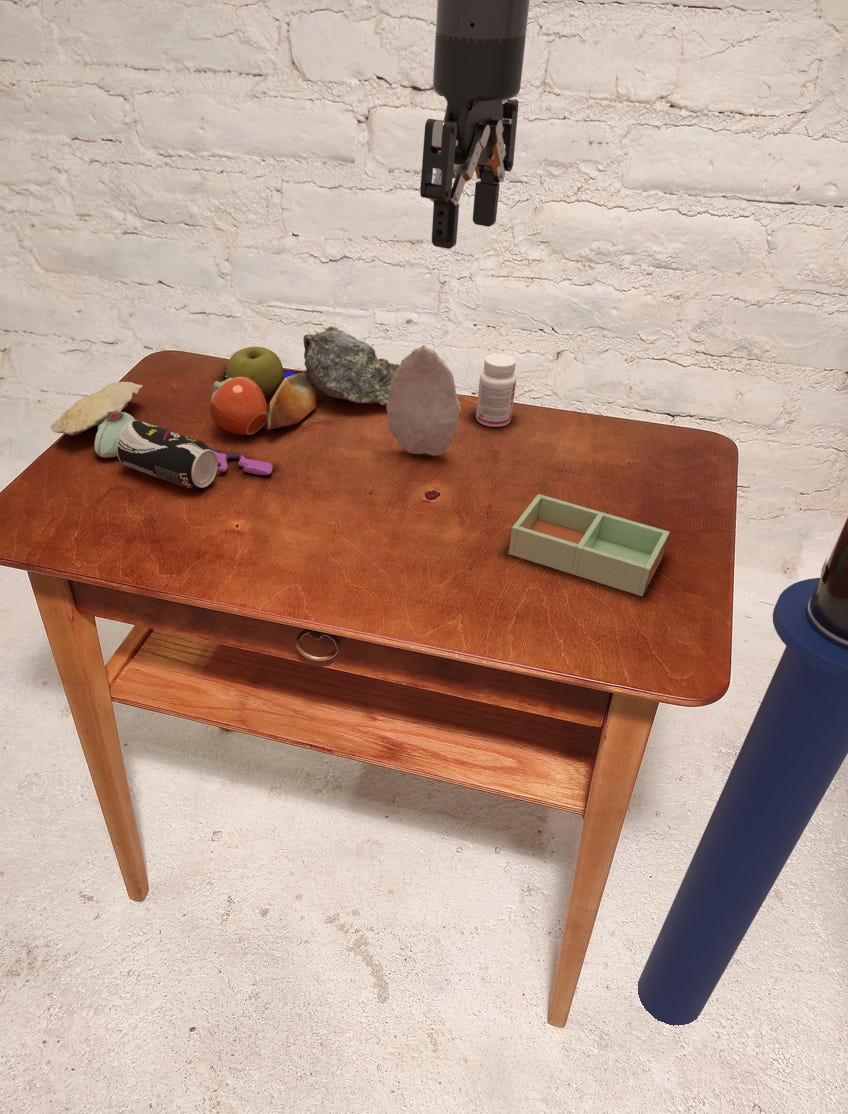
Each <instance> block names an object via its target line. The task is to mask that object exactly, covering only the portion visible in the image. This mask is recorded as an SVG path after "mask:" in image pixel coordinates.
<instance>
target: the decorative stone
mask: <svg viewBox="0 0 848 1114" xmlns="http://www.w3.org/2000/svg"><path fill="white" fill-rule="evenodd" d="M267 407H268V409H267V414H268V418H267V430H268V431H270V430H274V429H280V428H283V427H284V428H285V427H288V426H289V427H290V426H294V425H296V424H298V423H300V422H301V421H302V420H303V419H304V418H306V416H308V415H309V414H310V413H311V412H312V411H314V410H315V409H316V408H317V386H315V385H314V384H313V383H312V382H311V381H310V380H308V379H307V377H306V370H304V371H302V372H301V373H298V374H295V375H292V376H289V377H286V378H284V380H283V381H282V383H281V384H280V386H279V387H278V389H277V391H276V392H275V394H274V396H273V397H272V399H271V400H270V402H269V404H267Z"/></svg>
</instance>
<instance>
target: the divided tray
mask: <svg viewBox="0 0 848 1114" xmlns="http://www.w3.org/2000/svg"><path fill="white" fill-rule="evenodd" d="M510 533H511V534H510V540H509V545H508V546H509V547H508V551H507V554H508V555H511V556H514V557H516V558H520V559H523V560H526V561H528V562H533V563H534V564H539V565H542V566H545V567H548V568H551V569H555V570H558V571H560V572H563V573H566V574H570V575H574V576H577V577H579V578H582V579H586V580H589V581H592V582H594V583H599V584H602V585H604V586H608V587H610V588H614V589H617V590H621V591H623V592H627V593H629V594H633V595H636V596H640V597H644V594H645V592H646V591H647V589H648V587H649V585H650V583H651V581H652V579H653V578H654V576H655V574H656V571H657V569H658V567H659V565H660V564H661V562H662V560H663V557H664V554H665V551H666V548H667V544H668V541H669V536H670V533H671V532H670V531H668V530H664V529H662V528H659V527H655V526H651V525H648V524H645V523H641V522H637V521H633V520H631V519H628V518H627V519H626V518H624V517H621V516H617V515H613V514H610V513H606V512H602V511H599V510H597V509H593V508H589V507H585V506H582V505H578V504H576V503H575V504H574V503H572V502H568V501H565V500H562V499H558V498H554V497H551V496H547V495H544V494H540V493H538V494H536V496H535V498H533V500H532V501H531V502H530V504H529V505H528V506H527V507H526V509H525V510H524V512H523V513H522V514H521V515H520V516H519V518H518V520H517V521H516V522H515V523H514V524H513V526H512V527H511V532H510Z"/></svg>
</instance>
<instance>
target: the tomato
mask: <svg viewBox="0 0 848 1114" xmlns="http://www.w3.org/2000/svg"><path fill="white" fill-rule="evenodd" d="M213 387H214V390H213V392H212V394H211V396H210V403H209V414H210V417H211V419H212V421H213V422H214V423H215V425H216V426H217V427H219V428H220V429H221V430H223V431H225V432H228V433H230V434H232V435H236V436H251V435H254V434H256V433H257V432H258V431H260V430H261V429H262V427H264V425H265V424H266V422H267V421H268V404H267V403H266V399H265V396H264V394H263V392H262V390H261V388H260V387H259V386H258V384H257V383H256V382H254V381H253V380H252V379H250V378H248V377H244V376H239V377H234V378H229V379H227V380H226V379H224V380H223V381H221V382H220V381H214V383H213Z"/></svg>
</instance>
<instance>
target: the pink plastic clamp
mask: <svg viewBox="0 0 848 1114" xmlns="http://www.w3.org/2000/svg"><path fill="white" fill-rule="evenodd" d="M209 448H210V450H212V451H214V452H215V454H216V455H217V459H218V469H217V472H218V473H223V472H227V470H228V468H229V466H228V460H239V461H238V466H239V467H241V468H242V470H243V471H244V472H245V473H249V474H252V475H261V476H268V475H271V474H272V472H273V468H274V467H273V464H272V463H270V462H267V461H262V460H256V459H251V458H247V457H245V455H243V454H239V453H233V452H229V453H224V452H223V453H222V452H220V450H219V449H216V448H212V447H209Z"/></svg>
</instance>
